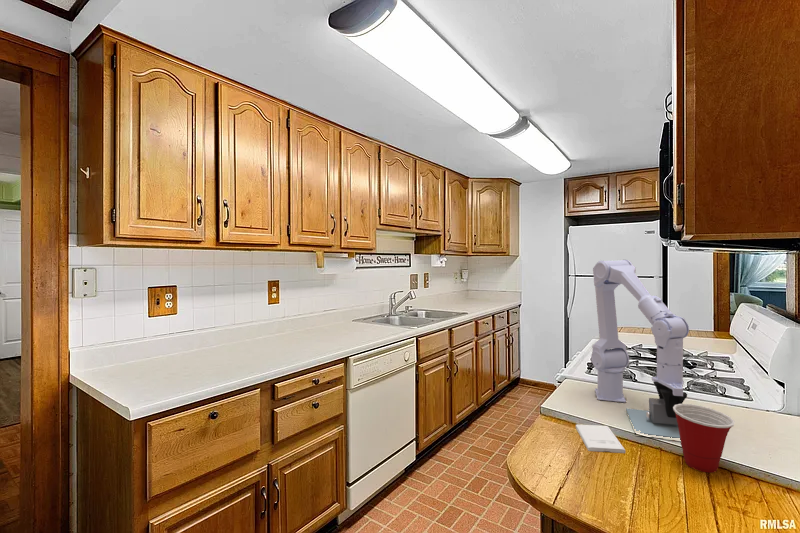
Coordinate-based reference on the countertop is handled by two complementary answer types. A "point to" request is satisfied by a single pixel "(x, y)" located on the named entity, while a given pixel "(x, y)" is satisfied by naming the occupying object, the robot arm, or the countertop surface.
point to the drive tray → (651, 424)
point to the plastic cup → (702, 435)
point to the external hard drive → (599, 438)
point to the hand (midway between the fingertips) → (669, 413)
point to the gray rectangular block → (660, 412)
